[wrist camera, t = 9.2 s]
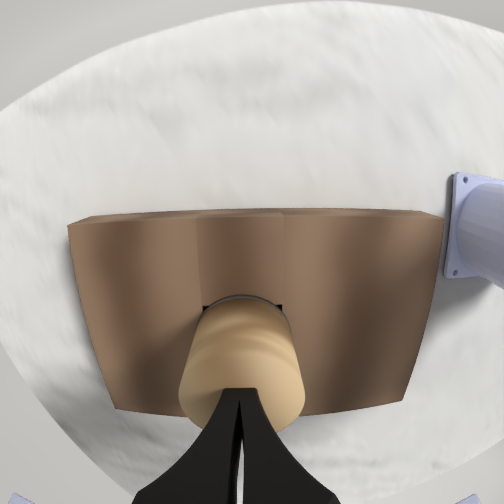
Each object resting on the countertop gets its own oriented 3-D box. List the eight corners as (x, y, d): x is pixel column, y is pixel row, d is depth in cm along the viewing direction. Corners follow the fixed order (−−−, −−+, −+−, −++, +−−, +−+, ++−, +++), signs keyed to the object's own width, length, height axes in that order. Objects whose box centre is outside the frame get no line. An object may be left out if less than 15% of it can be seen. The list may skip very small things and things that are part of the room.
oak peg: (287, 276, 18) (312, 350, 11) (284, 349, 20) (300, 437, 12) (198, 277, 18) (167, 350, 11) (205, 350, 20) (187, 437, 12)
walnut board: (419, 210, 18) (444, 218, 15) (388, 378, 22) (402, 400, 19) (90, 216, 18) (67, 225, 15) (126, 385, 21) (115, 408, 18)
